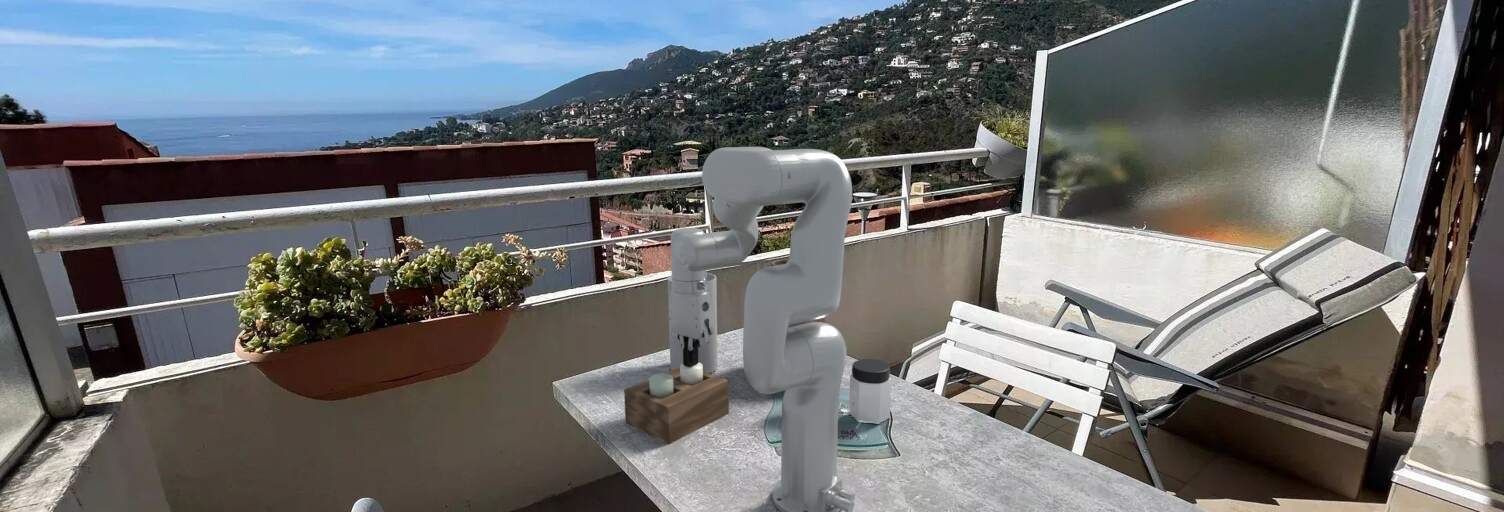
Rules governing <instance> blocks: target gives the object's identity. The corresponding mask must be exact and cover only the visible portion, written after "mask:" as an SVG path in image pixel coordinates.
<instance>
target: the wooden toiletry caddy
mask: <svg viewBox="0 0 1504 512" xmlns="http://www.w3.org/2000/svg"><path fill="white" fill-rule="evenodd" d="M664 374H670V375H672V376H673V391H674V394H672V395H670V396H668V397H665V398H663V399H661V400H660V399H658V398H655V397H653V396H650V382H649V379H646V380H644V381H642V382H639V383H636V384H633V385H631V386H628V387H626V388H624V389H623V393H624V418H625V424H626V425H628V426H630V427H632V428H634V429H637V430H639V431H641V432H642V433H645V434H647V435H650V436H652V437H654V438H656V439H658V440H660V441H663V442H665V443H667V444H669V445H670V444H672V443H674V442H676V441H678V440H680V439H683V438H684V437H686V436H687V435H690V434H691V433H694V432H696V431H697V430H700V429H701V428H703V427H704V428H705V427H706V426H707V425H709V424H711V423H714V422H715V421H717V420H719V419H721V418H723V417H725V416H726V415H729V412H730V411H729V409H730V408H729V407H730V405H729V403H730V401H729V399H730V397H729V395H730V393H729V391H730V390H729V379H726V378H724V377H721V376H717V375H714V374H713V373H710V374H709V373H706V372H703V381H702V382H700V383H697V384H695V385H693V386H690V385H687V384H685V383H682V382H681V378H680V367H679V368H676V369H674V370H671V369H670V370H669V371H667V372H664Z"/></svg>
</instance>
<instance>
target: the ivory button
mask: <svg viewBox="0 0 1504 512" xmlns="http://www.w3.org/2000/svg"><path fill="white" fill-rule="evenodd" d="M680 378H681V382H682V383H685V384H687V385H690V386H693V385H695V384H697V383H700V382H702V381H703V365H702V364H701V363H699V362H698V364H696V365H694V366H691V367H687V366H684V365H683V364H681V365H680Z"/></svg>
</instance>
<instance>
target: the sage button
mask: <svg viewBox="0 0 1504 512" xmlns="http://www.w3.org/2000/svg"><path fill="white" fill-rule="evenodd" d="M664 373H665V372H664ZM664 373H655V374H653V375H651V376H650V377H649V378H648V380H649V382H650V396H653V397H655V398H658V399H660V400H661V399H663V398H665V397H668V396H670V395H672V394H674V391H673V376H672V375H670V374H664Z"/></svg>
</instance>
